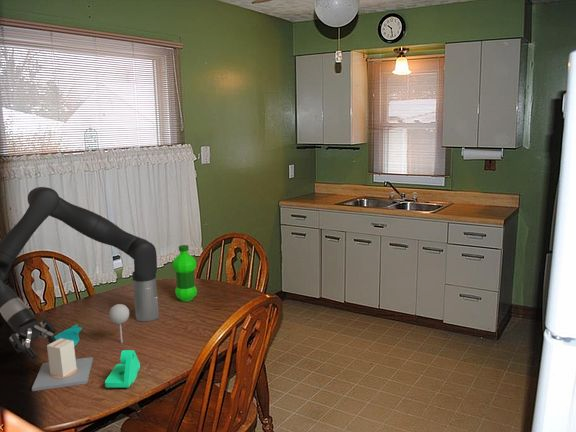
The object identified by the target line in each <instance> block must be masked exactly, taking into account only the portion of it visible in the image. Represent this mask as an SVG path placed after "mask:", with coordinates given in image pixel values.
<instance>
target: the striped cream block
mask: <svg viewBox="0 0 576 432" xmlns="http://www.w3.org/2000/svg"><path fill="white" fill-rule="evenodd" d="M46 348H47V356H48V357H47V358H48V363H49V366H50V374H53V375H57V376H61V377H64V376H66V375H67V374H69V373H71V372H72V371H74V370H76V369H77V368H76V359H77V358H76V351H75V347H74V341H71V340H67V339H62V338H60V339H58V340H56V341H54V342H52V343H51V344H50V343H49V344H47V345H46Z"/></svg>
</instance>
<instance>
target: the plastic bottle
mask: <svg viewBox="0 0 576 432" xmlns="http://www.w3.org/2000/svg"><path fill="white" fill-rule="evenodd" d="M178 251H179V255H177V256H176V257H175V258H174V259H173V260H172V268H173V270H174V272H175V274H176V275H175V276H176V287H175V290H174V293H175V296H176V298H177V300H178V299H179V300H180V301H181V302H190V301H192V300H193V299H194V298H195V297H196V296H197V294H198V289H197V287H196V285H195V272H194V271H195V270H196V269H197V261H196V258H195V257H194V256H193V255H191V254H189V253H188V251H189V245H187V244H182V245H179V246H178Z"/></svg>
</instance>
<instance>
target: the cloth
mask: <svg viewBox="0 0 576 432" xmlns="http://www.w3.org/2000/svg"><path fill="white" fill-rule="evenodd" d="M82 329H83V327H80V326H79V324H75V325H72V326H71V327H70V328H67V329H65V330H63V331H62V332H59V333H57V334H56V335H54V337H55V339H56V340H58V339H60V338H62V339H67V340H71V341H74V348H75V347H76V345H77V344H78V343H79V341H80V336H79V333H80V332H81V331H82Z"/></svg>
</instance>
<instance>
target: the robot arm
mask: <svg viewBox="0 0 576 432" xmlns="http://www.w3.org/2000/svg"><path fill="white" fill-rule="evenodd" d="M26 198H27V203H28V208H27V210H26V211H25V213H24V214H23V215H22V217H21V218H20V219H19V220H18V222H17V223H16V224H15V225H14V226H13V227H12V228H11V229H10V230H9V231H8V232H7V233H6V234H5V236H4V237H3V238H2V239H1V240H0V315H1V316H2V318H3V319H4V321H5V322H6V323H7V324H8V326H9V327H10V328H11V330H12V332H14V333H12V334H11V335H10V337H9V338H8V340H9V342H10V343H11V345H12V347H13V348H14V349H15V351H16V353H22V352H24V353H25V354H26V355H27V356H28V358H29V359H31V360H32V361H34V360H36V359H37V358H38V354H37V353H36V351H35V350H34V349H33V348H32V346H31V342H33V340H36V339H38V338H40V339H45V340H47V342H48V343H49V344H51V343H52V342H54V341H56V339H55V337H54V336H55V334H56V333H57V330H56V328H55V327H54V326H53V325H52V323H51V322H50V321H49V320H48V319H47V318H44V319H43V320H42V321H41V322H39V321H37V318H36V315H34V314H33V312H32V311H31V310H30V309H29V307H28V306H27V305H26V303H25V302H24V301H23V300H22V298H20V297H19V296H18V294H17V292H15V291H14V289H13V288H12V287H10V286H9V285H7V284H6V283H5V282H4V281H6V278H7V277H8V274H9V272H10V270H11V267H12V265H13V263H14V261H15V260H16V259H17V257H18V256H19V255H20V253H21V252H22V250H23V248H25V247H26V244H27V243H28V242H29V240H30V239H31V238H32V236H33V235H34V233H35V232H36V231H37V230H38V228H39V227H40V226H42V224H43V223H44V221H46V220H47V218H48V217H52V218H54V219H57V220H58V221H60V222H62V223H64V224H65V225H67V226H69V227H70V228H71V229H73V230H75V231H77V232H78V233H80V234H82V235H84V236H85V237H87V238H90V239H91V240H93V241H96V242H97V243H101V244H104V245H107V246H111V247H114V248H116V249H117V250H120V251H121V252H123V253H124V254H126V255H127V256H129V257H130V258H131V259H132V260H133V266H134V267H133V268H134V269H133V270H134V271H132V273H131V275H132V276H131V277H132V286H133V287H132V288H133V289H132V290H133V300H134V310H135V311H134V313H135V314H134V315H135V320H136V321H137V322H138V321H139V322H152V321H155V320H158V319H160V315H159V314H160V313H159V312H160V311H159V298H158V288H157V271H158V260H157V259H158V258H157V257H158V256H157V248H156V247H155V244H154V243H152V242H150V241H149V240H146V238H145V239H144V238H141V237H139V236H137V235H134V234H132V233H130V232H127V231H125V230H123V229H122V228H120V227H119V226H118V225H117V224H115V223H114V222H112V221H111V220H109V219H107V218H105V217H104V216H101V214H98V213H96V212H94V211H92V210H89V209H86V208H84V207H81V206H78V205H75V204H73V203H71V202H69V201H67V200H65V199H63V198H62V197H60V195H59V194H58V192H57V191H56V190H55V189H53V188H51V187H46V186H38V187H35V188H33V189H32V190H30V191H29V192H28V194H27V197H26ZM20 339H21V340H22V342H21V340H20Z"/></svg>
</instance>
